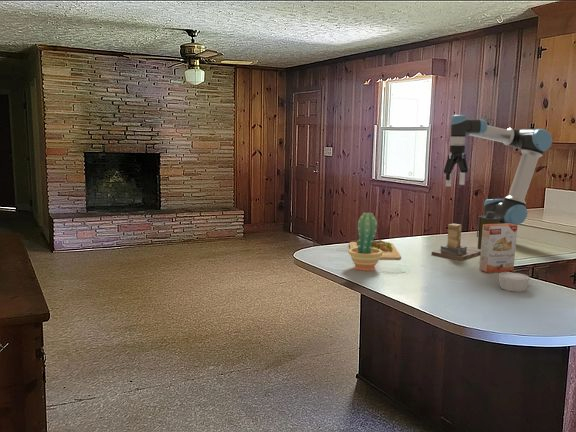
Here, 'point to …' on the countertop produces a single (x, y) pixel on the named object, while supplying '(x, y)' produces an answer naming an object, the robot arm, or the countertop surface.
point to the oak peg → (454, 235)
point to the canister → (486, 220)
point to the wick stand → (457, 252)
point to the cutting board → (386, 247)
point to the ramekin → (513, 281)
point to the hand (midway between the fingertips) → (455, 185)
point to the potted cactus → (366, 244)
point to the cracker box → (498, 247)
